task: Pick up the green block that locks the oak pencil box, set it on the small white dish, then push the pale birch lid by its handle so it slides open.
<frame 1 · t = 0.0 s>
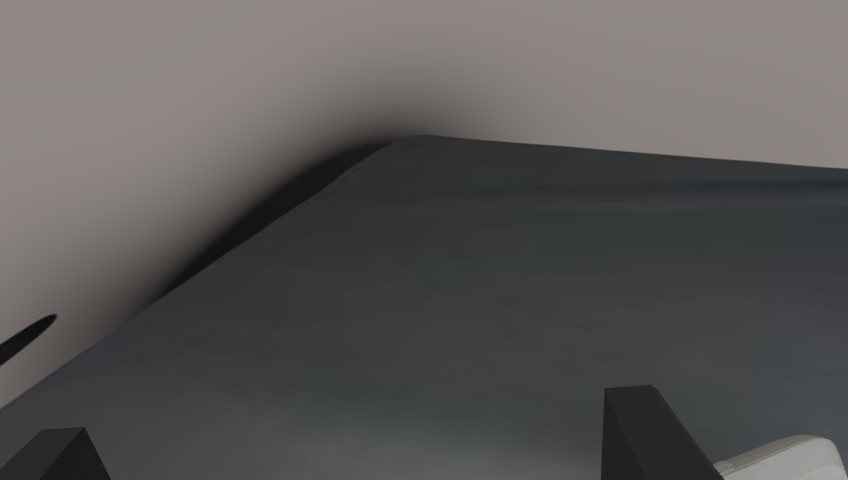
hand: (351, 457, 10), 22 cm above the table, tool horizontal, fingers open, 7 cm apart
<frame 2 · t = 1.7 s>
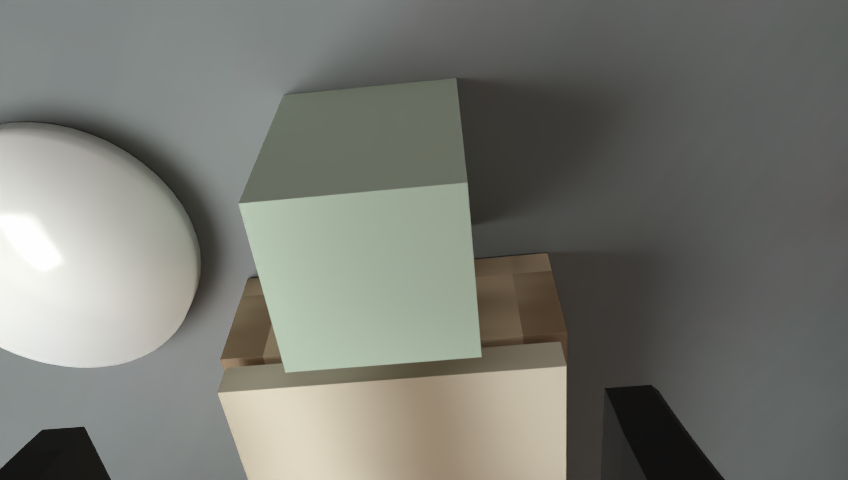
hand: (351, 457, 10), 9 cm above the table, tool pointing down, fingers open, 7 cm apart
pencil box: (422, 446, 23), on the table
green block: (381, 163, 18), on the table
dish: (65, 246, 19), on the table
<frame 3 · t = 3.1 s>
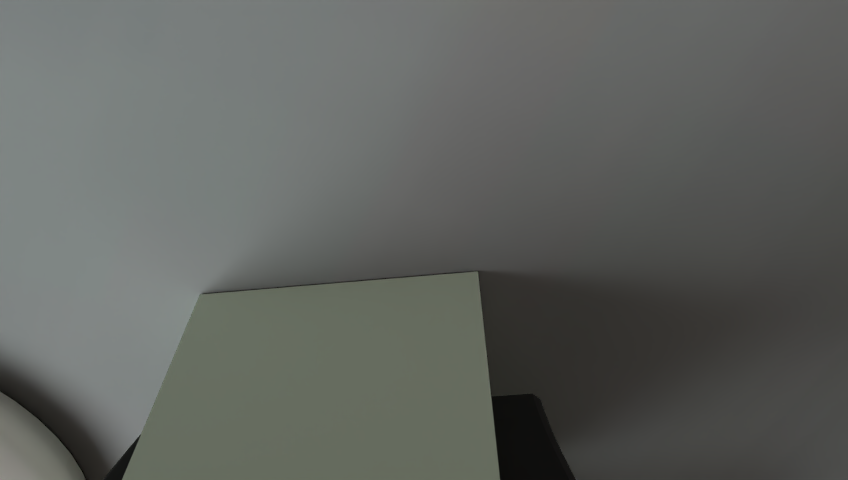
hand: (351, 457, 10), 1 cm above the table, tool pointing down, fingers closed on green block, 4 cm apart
green block: (358, 385, 12), on the table, touching gripper
when the fingers open (4 cm above the table, at t = 5.8 s): green block drops 1 cm, resting on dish.
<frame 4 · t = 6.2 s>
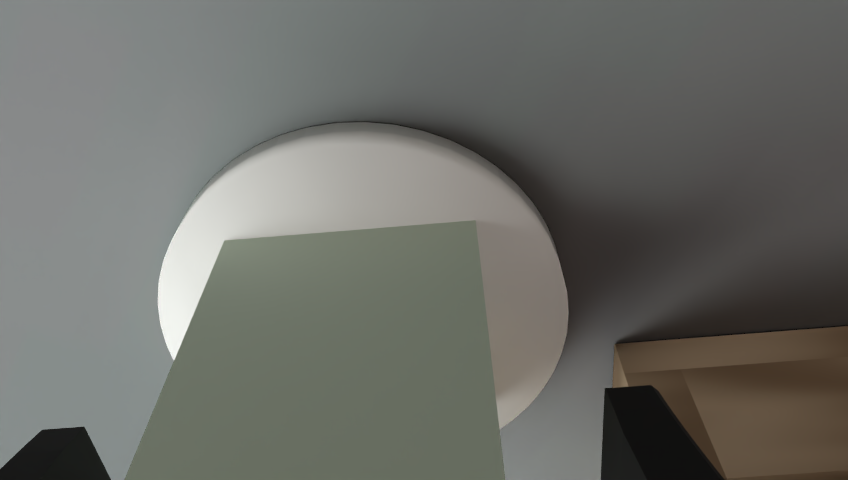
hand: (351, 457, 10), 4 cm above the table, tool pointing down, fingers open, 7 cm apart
green block: (366, 328, 13), point 1 cm above the table, touching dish
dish: (367, 300, 13), on the table
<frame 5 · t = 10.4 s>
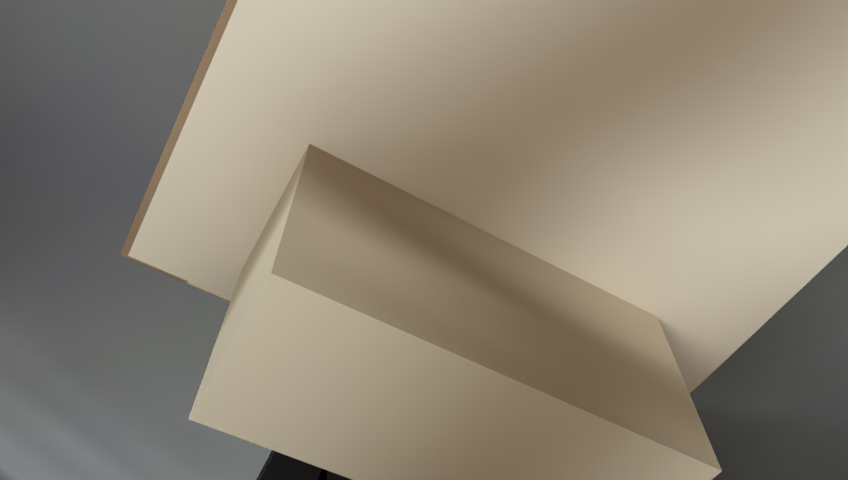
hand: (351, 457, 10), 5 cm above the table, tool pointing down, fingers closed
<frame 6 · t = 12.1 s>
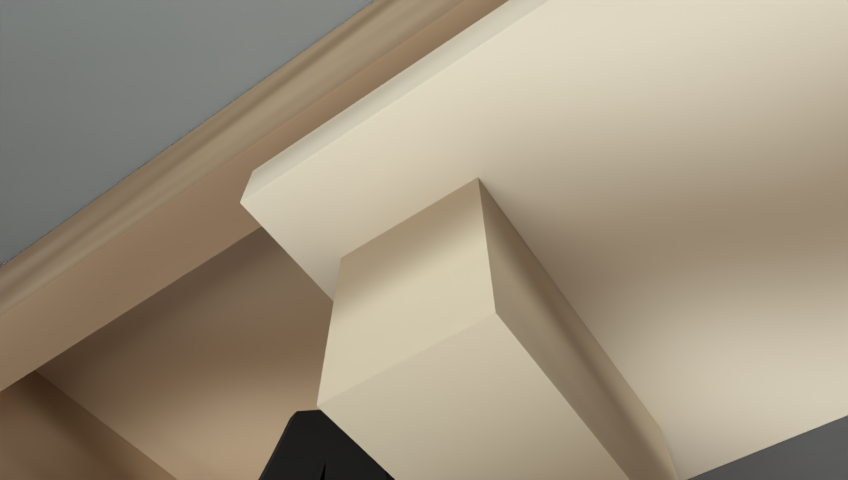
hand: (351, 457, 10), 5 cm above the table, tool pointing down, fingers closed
pencil box: (338, 280, 15), on the table
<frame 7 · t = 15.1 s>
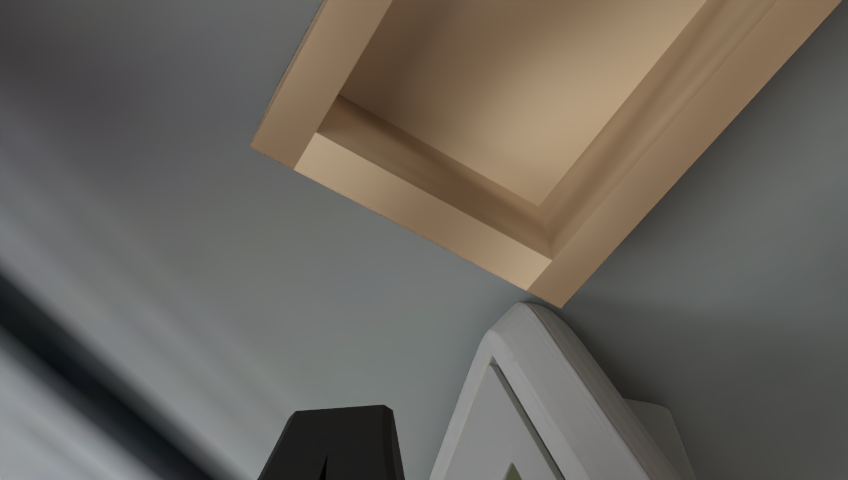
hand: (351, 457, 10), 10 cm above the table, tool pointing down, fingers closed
digital clock: (505, 468, 26), on the table
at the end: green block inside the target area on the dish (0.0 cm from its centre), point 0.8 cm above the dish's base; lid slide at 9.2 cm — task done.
